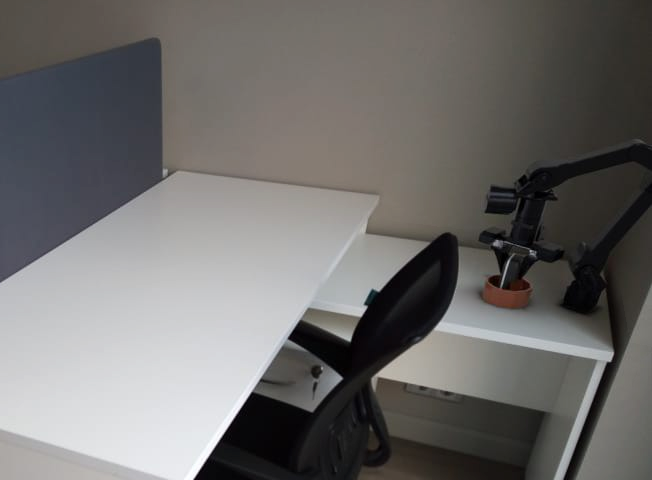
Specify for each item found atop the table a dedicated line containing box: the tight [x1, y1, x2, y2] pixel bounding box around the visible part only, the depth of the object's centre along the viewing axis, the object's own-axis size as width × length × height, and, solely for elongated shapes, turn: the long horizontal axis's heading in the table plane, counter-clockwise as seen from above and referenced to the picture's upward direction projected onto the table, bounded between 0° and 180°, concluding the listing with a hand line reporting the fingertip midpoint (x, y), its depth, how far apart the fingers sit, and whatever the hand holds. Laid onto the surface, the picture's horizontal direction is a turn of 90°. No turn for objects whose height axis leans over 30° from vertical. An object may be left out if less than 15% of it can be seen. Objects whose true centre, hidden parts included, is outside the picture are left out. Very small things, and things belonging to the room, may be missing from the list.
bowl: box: [481, 273, 533, 309], centre depth 184 cm, size 11×11×4 cm
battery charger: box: [498, 253, 525, 291], centre depth 182 cm, size 7×4×11 cm, turn 143°
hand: (511, 276), depth 182 cm, fingers closed on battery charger, 4 cm apart
